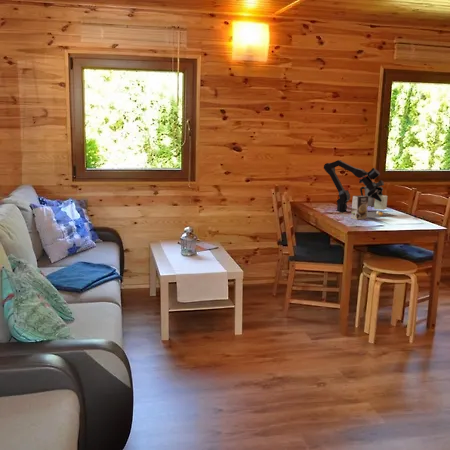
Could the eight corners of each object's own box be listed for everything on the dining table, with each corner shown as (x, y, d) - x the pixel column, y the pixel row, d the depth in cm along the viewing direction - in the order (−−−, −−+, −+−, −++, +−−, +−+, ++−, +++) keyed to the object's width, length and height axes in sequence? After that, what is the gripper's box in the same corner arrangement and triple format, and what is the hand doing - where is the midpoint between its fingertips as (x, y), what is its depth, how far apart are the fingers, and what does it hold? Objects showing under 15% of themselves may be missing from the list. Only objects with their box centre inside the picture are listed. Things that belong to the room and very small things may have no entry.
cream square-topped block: (383, 209, 372) (384, 196, 370) (373, 208, 376) (375, 195, 374) (386, 208, 378) (387, 195, 376) (377, 207, 381) (378, 194, 379)
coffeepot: (373, 204, 429) (375, 182, 426) (379, 206, 420) (381, 184, 417) (356, 204, 426) (357, 182, 422) (361, 206, 417) (363, 184, 413)
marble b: (380, 216, 374) (380, 212, 373) (377, 215, 377) (377, 211, 376) (383, 216, 375) (384, 212, 375) (380, 215, 378) (381, 211, 377)
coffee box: (356, 220, 361) (358, 196, 358) (350, 218, 367) (352, 195, 363) (366, 219, 365) (368, 196, 362) (360, 217, 371) (362, 195, 368)
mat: (372, 218, 368) (372, 217, 367) (354, 213, 385) (354, 212, 385) (398, 216, 378) (398, 216, 378) (379, 212, 396) (379, 211, 395)
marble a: (378, 215, 377) (378, 211, 377) (375, 214, 380) (375, 210, 380) (381, 215, 379) (381, 211, 378) (378, 214, 381) (378, 210, 381)
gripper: (373, 177, 367) (387, 195, 363) (381, 175, 382) (395, 192, 378) (361, 187, 372) (375, 204, 369) (370, 185, 388) (383, 201, 384)
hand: (382, 200), depth 375 cm, fingers closed on cream square-topped block, 7 cm apart
